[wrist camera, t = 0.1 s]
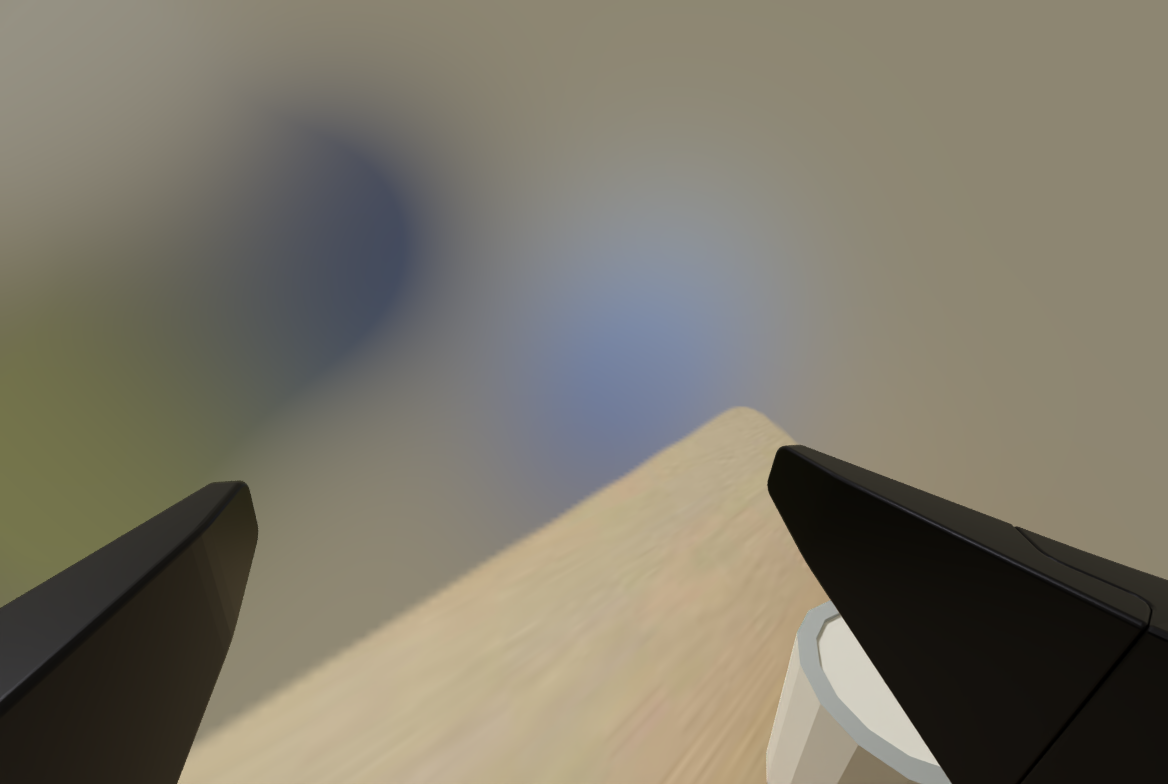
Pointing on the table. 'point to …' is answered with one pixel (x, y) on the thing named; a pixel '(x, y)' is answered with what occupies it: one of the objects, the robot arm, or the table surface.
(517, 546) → the table surface
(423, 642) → the table surface
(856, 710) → the white tapered cup
